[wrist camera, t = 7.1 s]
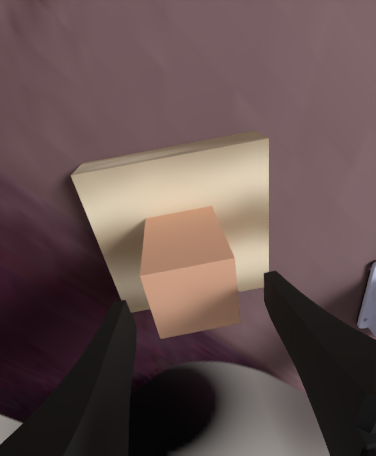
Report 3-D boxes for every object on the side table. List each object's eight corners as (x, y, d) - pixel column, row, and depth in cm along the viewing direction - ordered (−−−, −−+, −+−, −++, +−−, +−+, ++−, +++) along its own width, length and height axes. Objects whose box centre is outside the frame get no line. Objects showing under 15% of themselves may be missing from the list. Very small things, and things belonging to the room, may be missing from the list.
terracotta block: (218, 259, 19) (240, 323, 14) (160, 270, 19) (160, 338, 14) (211, 205, 17) (235, 258, 12) (145, 218, 17) (139, 276, 12)
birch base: (256, 263, 24) (268, 285, 21) (130, 288, 24) (126, 313, 21) (252, 130, 18) (268, 138, 15) (83, 161, 18) (70, 175, 15)
